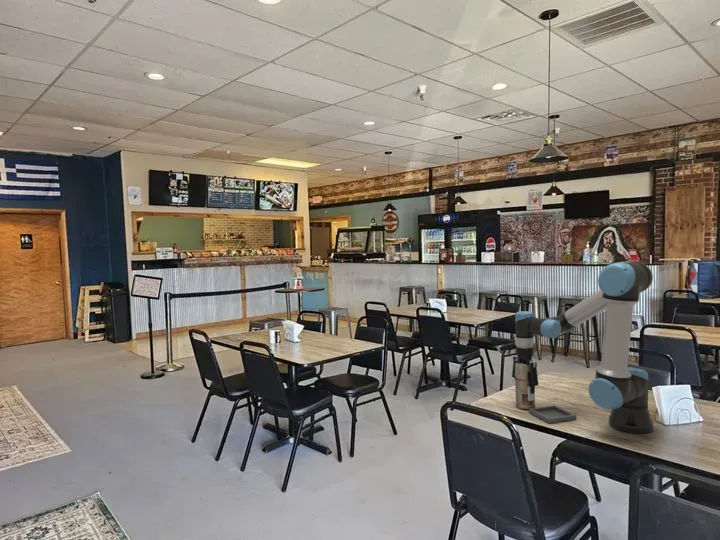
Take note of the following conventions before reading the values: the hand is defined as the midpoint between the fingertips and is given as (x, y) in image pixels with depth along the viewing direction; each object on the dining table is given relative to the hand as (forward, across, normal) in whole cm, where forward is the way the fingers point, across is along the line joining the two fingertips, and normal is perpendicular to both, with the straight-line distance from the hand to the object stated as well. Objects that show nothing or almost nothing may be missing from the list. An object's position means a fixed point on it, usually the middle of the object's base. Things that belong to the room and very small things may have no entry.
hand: (524, 397), depth 206 cm
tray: (+4, -14, -3) cm, 15 cm away
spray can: (+4, 0, 0) cm, 4 cm away
